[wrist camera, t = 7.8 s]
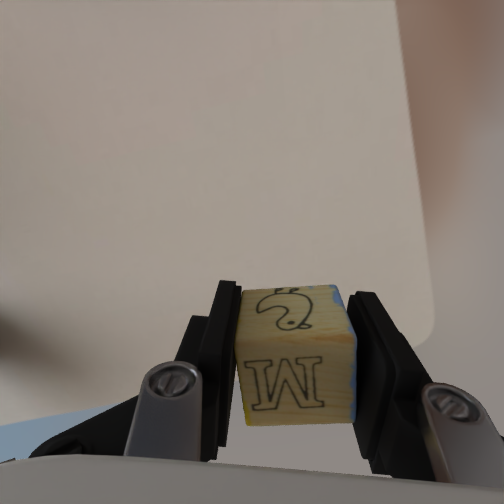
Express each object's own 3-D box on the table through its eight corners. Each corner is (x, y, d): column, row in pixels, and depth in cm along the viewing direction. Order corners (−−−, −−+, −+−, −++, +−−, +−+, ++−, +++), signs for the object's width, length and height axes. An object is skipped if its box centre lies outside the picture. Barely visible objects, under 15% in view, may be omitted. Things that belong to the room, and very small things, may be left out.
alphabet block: (337, 357, 12) (358, 429, 9) (250, 363, 12) (245, 434, 10) (335, 280, 11) (359, 334, 8) (240, 287, 11) (231, 342, 9)
